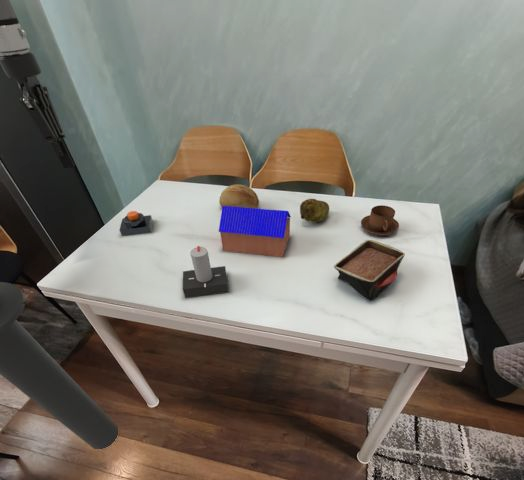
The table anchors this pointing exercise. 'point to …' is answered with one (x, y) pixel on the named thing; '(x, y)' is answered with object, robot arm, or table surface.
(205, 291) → the timer panel
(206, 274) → the timer dial
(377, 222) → the cup and saucer
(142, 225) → the button block
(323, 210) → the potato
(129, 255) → the table surface
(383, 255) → the baking dish
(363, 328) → the table surface
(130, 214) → the button
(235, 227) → the house
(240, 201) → the bread roll
